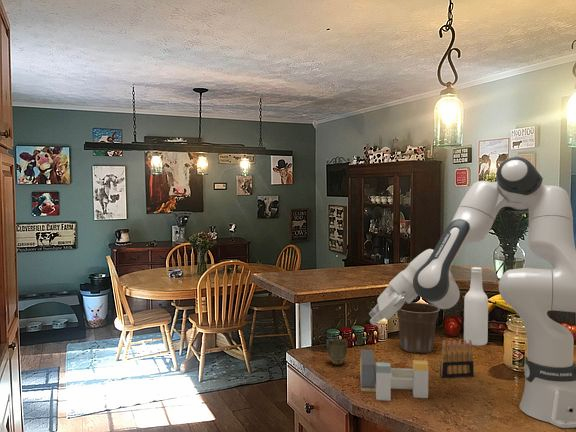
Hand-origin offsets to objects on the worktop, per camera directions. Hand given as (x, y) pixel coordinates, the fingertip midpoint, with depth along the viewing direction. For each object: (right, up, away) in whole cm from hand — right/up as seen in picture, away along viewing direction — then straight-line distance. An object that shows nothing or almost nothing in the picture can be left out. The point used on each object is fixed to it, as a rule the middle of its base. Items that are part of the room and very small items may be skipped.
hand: (370, 319), depth 154 cm
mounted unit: (-1, -20, 0) cm, 20 cm away
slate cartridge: (+2, -20, -12) cm, 24 cm away
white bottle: (+48, -18, +39) cm, 65 cm away
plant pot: (+23, -18, +32) cm, 44 cm away
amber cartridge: (+13, -20, -11) cm, 26 cm away
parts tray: (+10, -20, -1) cm, 22 cm away
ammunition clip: (+29, -20, +5) cm, 35 cm away
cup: (-9, -19, +16) cm, 27 cm away
